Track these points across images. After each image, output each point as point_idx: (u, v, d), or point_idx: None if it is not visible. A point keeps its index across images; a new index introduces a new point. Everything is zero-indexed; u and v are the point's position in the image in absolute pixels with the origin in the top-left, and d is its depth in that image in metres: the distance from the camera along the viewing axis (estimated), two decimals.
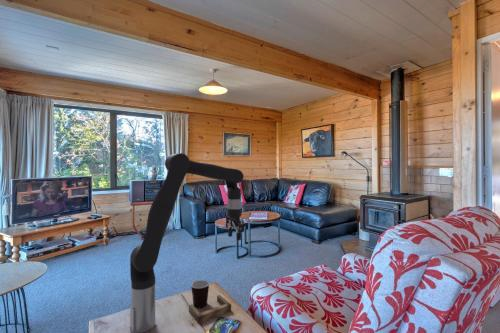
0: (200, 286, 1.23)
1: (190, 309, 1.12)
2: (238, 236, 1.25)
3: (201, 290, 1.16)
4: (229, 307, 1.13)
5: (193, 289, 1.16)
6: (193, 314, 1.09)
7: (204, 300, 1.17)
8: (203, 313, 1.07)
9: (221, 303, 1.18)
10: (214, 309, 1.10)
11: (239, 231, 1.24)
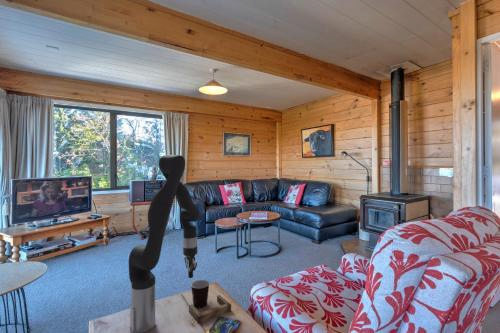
0: (200, 286, 1.23)
1: (190, 309, 1.12)
2: (190, 274, 1.31)
3: (201, 290, 1.16)
4: (229, 307, 1.13)
5: (193, 289, 1.16)
6: (193, 314, 1.09)
7: (204, 300, 1.17)
8: (203, 313, 1.07)
9: (221, 303, 1.18)
10: (214, 309, 1.10)
11: (190, 270, 1.29)
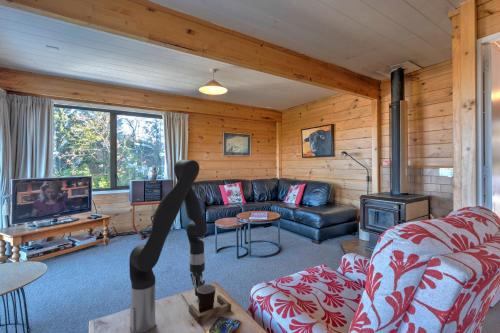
0: (206, 291, 1.18)
1: (190, 309, 1.12)
2: None
3: (207, 295, 1.11)
4: (229, 307, 1.13)
5: (199, 294, 1.11)
6: (193, 314, 1.09)
7: (210, 306, 1.12)
8: (203, 313, 1.07)
9: (221, 303, 1.18)
10: (214, 309, 1.10)
11: None
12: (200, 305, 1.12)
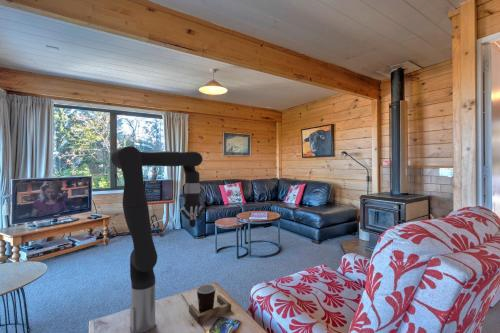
0: (206, 291, 1.18)
1: (190, 309, 1.12)
2: None
3: (207, 295, 1.11)
4: (229, 307, 1.13)
5: (199, 294, 1.11)
6: (193, 314, 1.09)
7: (210, 306, 1.12)
8: (203, 313, 1.07)
9: (221, 303, 1.18)
10: (214, 309, 1.10)
11: None
12: (200, 305, 1.12)
